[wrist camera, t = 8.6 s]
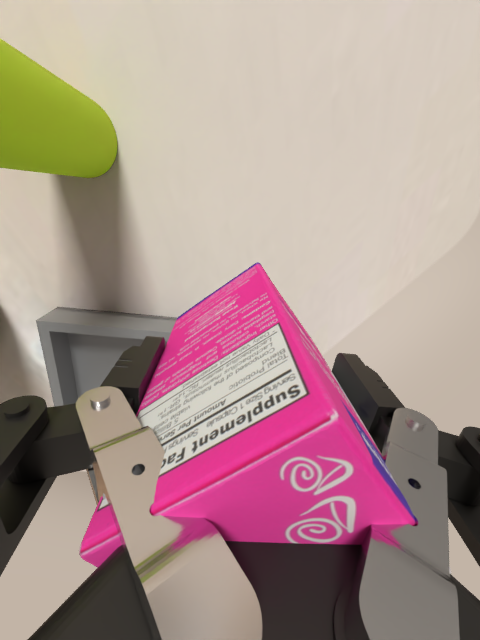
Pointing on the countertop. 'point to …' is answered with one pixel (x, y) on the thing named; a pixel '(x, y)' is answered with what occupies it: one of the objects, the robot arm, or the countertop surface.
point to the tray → (90, 346)
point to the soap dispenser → (50, 122)
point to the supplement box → (256, 431)
